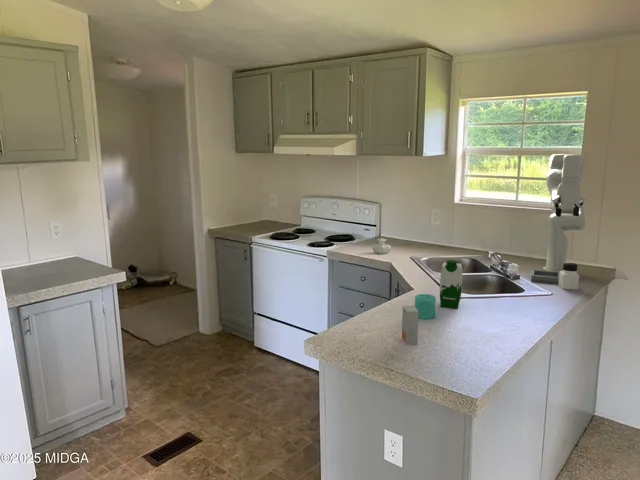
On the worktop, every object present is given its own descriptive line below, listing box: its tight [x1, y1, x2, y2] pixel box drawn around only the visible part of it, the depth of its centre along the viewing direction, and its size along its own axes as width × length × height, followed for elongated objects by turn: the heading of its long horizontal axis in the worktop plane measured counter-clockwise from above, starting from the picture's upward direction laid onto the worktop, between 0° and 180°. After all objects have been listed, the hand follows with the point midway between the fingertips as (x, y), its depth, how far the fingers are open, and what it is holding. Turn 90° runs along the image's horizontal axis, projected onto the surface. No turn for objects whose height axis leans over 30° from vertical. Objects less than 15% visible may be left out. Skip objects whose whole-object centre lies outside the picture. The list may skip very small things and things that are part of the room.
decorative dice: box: [414, 293, 437, 320], centre depth 194 cm, size 8×8×8 cm
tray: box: [530, 269, 560, 285], centre depth 247 cm, size 13×13×3 cm
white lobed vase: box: [372, 237, 392, 255], centre depth 307 cm, size 12×8×11 cm
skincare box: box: [401, 305, 419, 345], centre depth 168 cm, size 6×4×12 cm
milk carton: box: [439, 259, 463, 310], centre depth 205 cm, size 9×9×20 cm
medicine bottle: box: [557, 261, 581, 291], centre depth 232 cm, size 7×7×12 cm
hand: (566, 216), depth 236 cm, fingers open, 9 cm apart
